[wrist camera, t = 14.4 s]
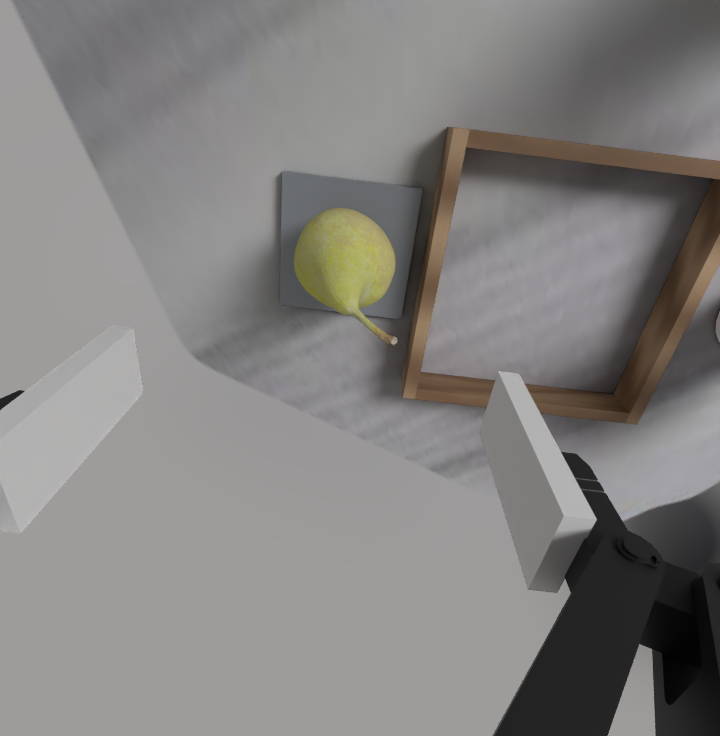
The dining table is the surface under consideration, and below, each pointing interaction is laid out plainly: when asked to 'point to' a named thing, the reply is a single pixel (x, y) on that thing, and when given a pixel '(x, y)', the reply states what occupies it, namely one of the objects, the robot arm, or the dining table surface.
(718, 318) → the cup
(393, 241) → the slate coaster
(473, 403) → the walnut frame
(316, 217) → the fruit
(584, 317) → the dining table surface
